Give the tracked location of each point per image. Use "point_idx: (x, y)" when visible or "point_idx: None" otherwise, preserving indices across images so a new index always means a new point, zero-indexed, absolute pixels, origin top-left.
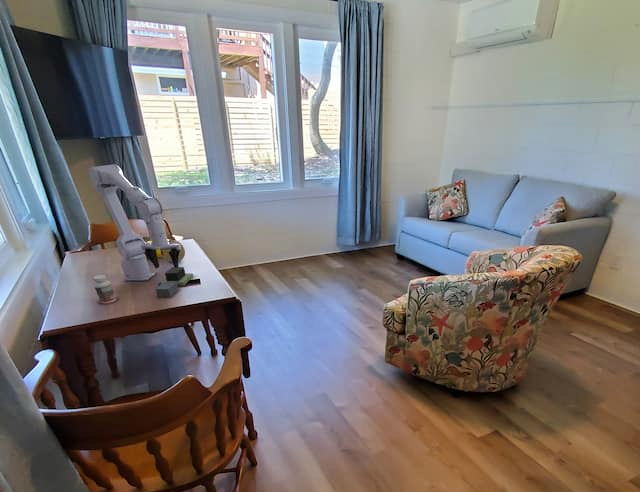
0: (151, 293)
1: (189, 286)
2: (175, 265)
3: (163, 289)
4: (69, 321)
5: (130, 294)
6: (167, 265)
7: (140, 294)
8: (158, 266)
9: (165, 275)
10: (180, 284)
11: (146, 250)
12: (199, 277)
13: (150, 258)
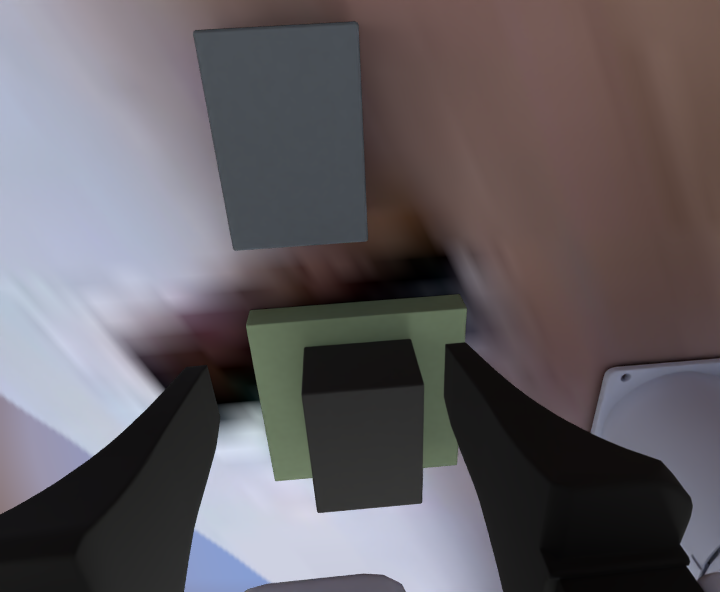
0: (465, 121)
1: (190, 297)
2: (166, 388)
3: (256, 27)
4: None
5: (663, 84)
6: None
7: (565, 90)
8: (446, 385)
9: (418, 370)
10: (277, 312)
11: (663, 576)
12: (220, 452)
13: (537, 422)
